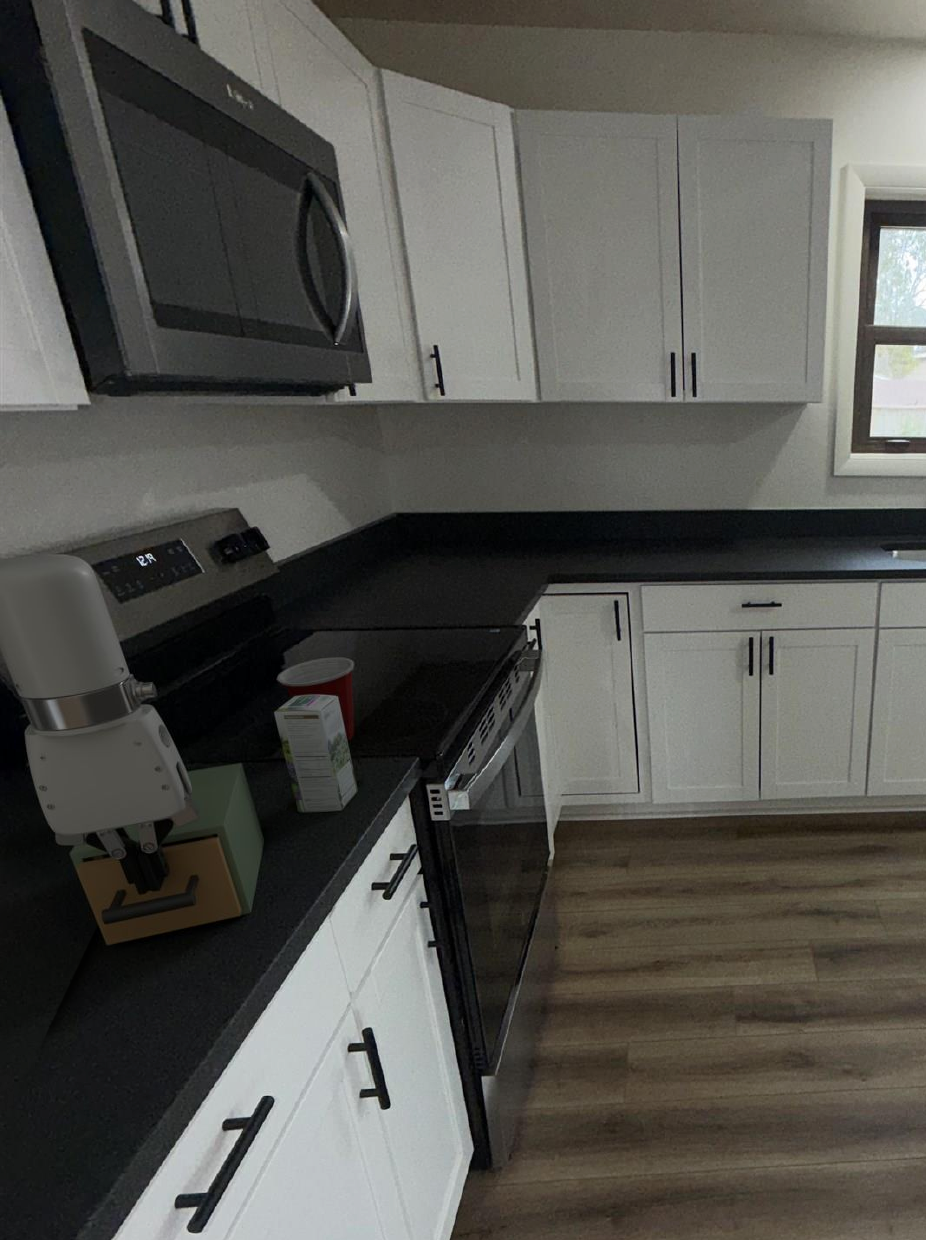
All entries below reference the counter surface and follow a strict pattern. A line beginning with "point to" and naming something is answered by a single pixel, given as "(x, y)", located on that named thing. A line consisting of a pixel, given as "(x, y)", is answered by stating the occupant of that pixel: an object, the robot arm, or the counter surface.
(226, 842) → the cabinet
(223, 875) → the drawer
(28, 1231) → the counter surface
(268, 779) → the counter surface
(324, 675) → the plastic cup
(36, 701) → the robot arm
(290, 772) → the syrup box
